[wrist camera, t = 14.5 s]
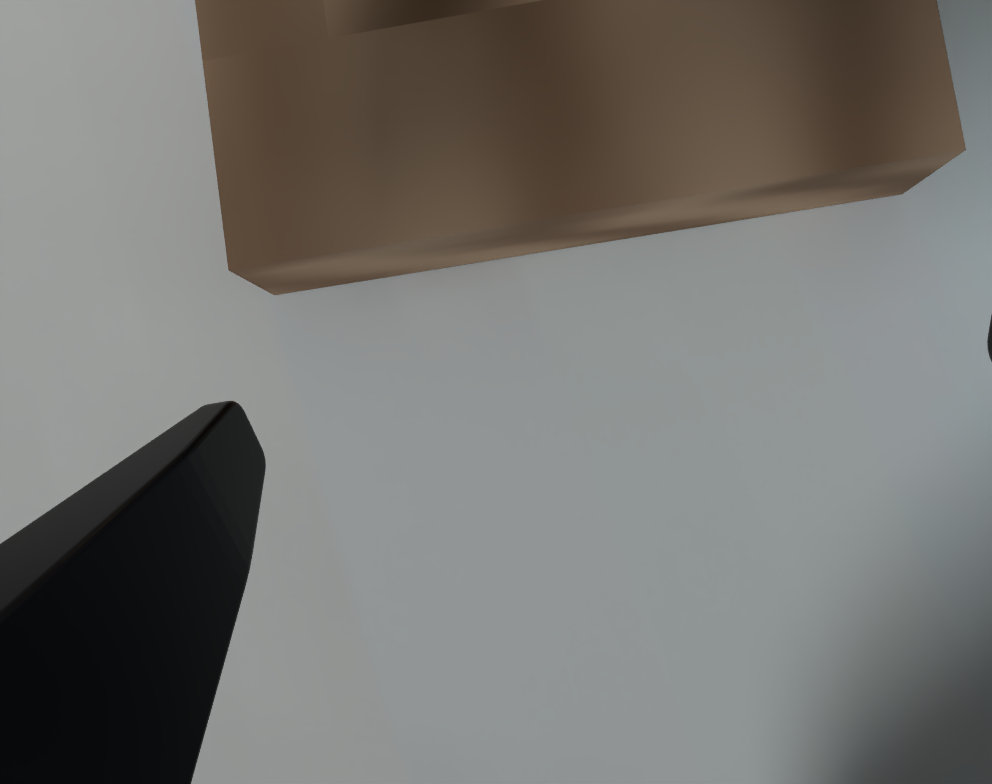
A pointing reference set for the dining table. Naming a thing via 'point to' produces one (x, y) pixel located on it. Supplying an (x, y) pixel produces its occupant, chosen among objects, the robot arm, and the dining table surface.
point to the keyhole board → (552, 123)
